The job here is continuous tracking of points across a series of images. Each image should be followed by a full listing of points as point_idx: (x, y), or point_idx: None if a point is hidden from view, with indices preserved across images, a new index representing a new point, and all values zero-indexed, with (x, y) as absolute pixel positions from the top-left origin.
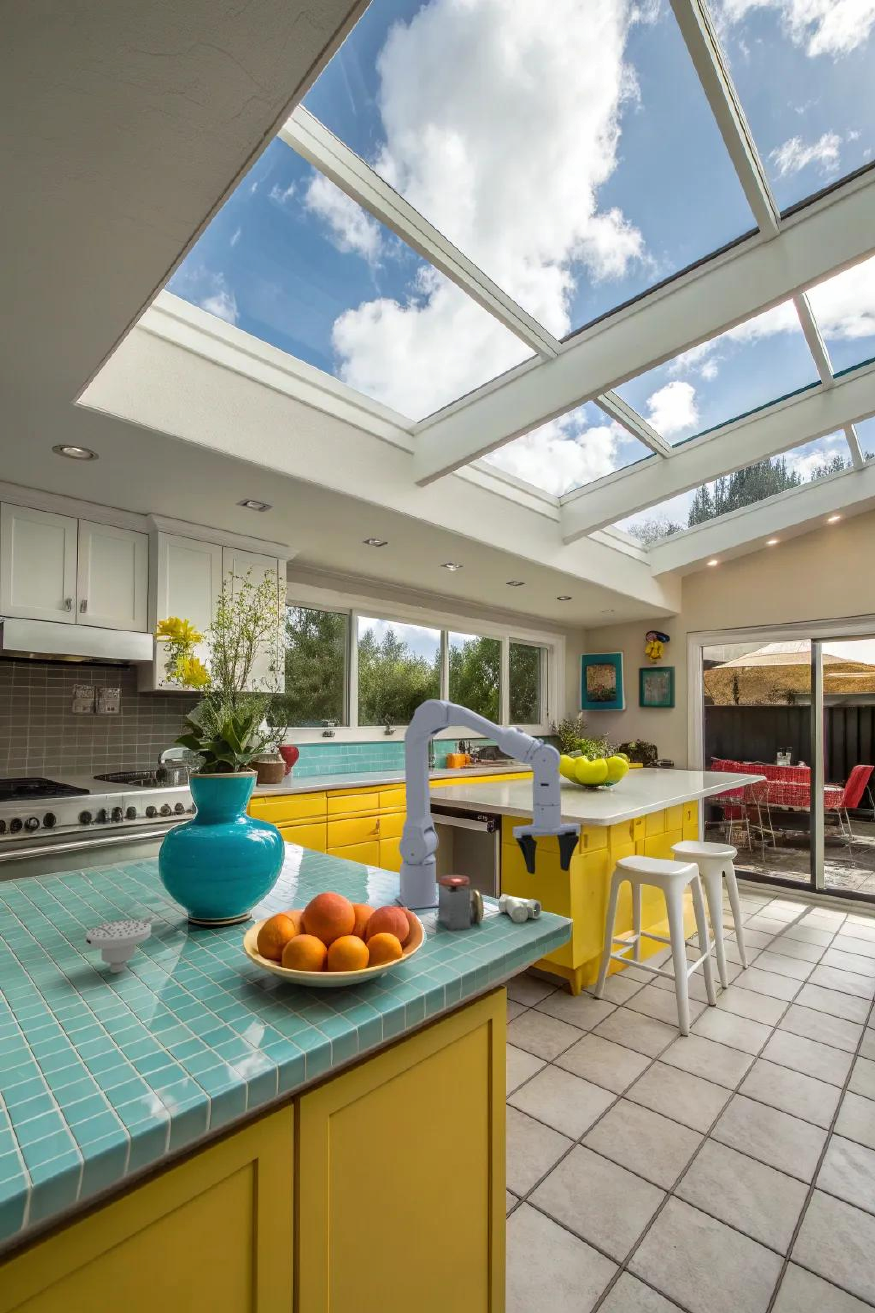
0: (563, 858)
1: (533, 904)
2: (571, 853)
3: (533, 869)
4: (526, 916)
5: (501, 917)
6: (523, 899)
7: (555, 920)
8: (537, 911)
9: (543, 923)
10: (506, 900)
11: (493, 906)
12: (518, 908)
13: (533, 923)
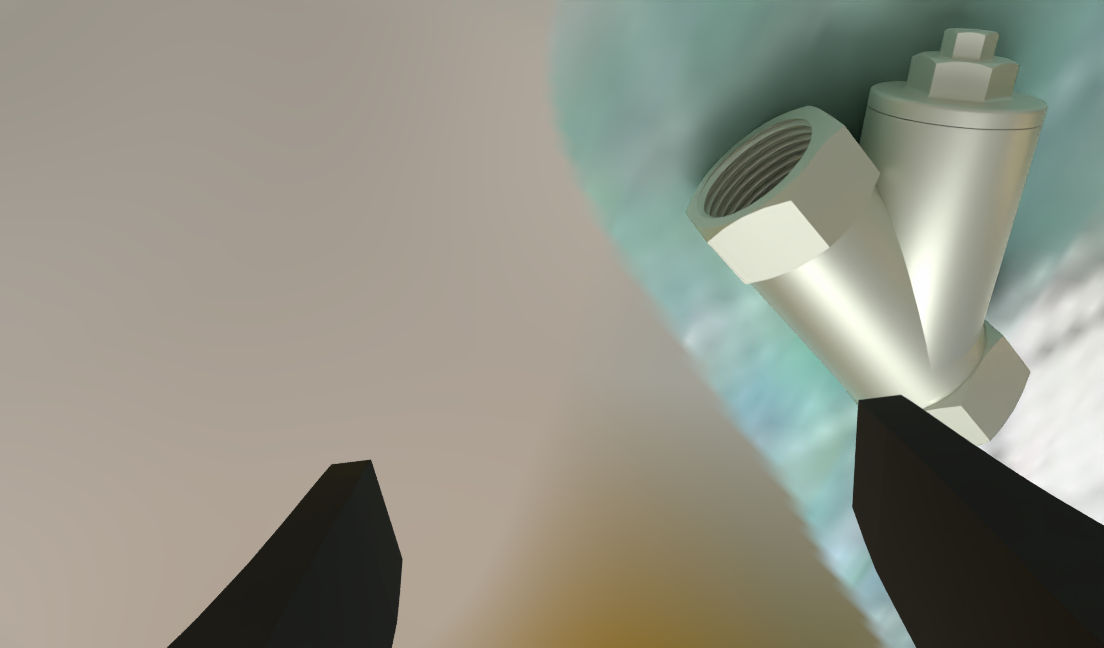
0: (348, 643)
1: (823, 159)
2: (190, 646)
3: (918, 419)
4: (884, 89)
5: None
6: (870, 287)
7: (594, 74)
8: (718, 214)
9: (737, 7)
10: (984, 349)
11: None
12: (1003, 106)
13: (826, 25)
